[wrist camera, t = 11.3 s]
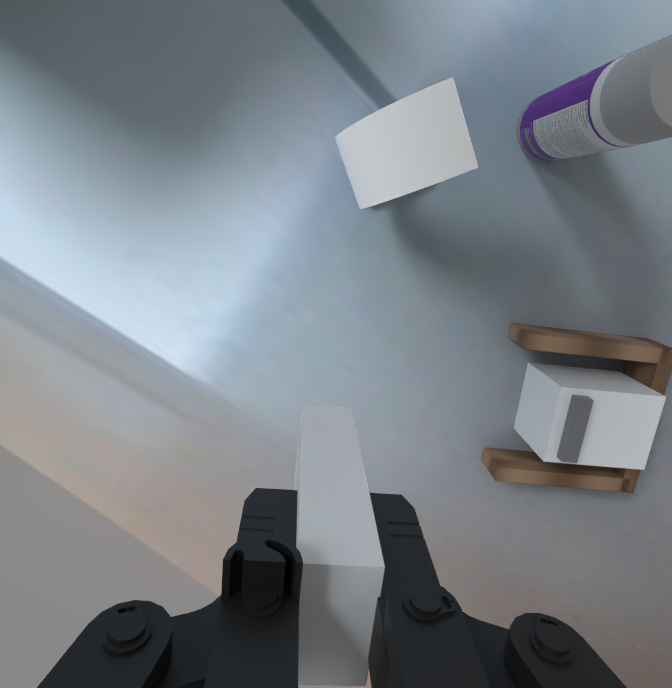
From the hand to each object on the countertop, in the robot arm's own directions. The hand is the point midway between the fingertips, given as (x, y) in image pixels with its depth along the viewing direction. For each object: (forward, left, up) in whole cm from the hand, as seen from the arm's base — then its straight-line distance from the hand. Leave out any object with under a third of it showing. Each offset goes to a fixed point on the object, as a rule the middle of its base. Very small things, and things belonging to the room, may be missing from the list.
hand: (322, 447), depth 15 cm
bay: (+22, -6, -26) cm, 34 cm away
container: (+16, +15, -26) cm, 33 cm away
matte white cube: (+22, -6, -26) cm, 35 cm away
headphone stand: (+4, +11, -26) cm, 28 cm away
